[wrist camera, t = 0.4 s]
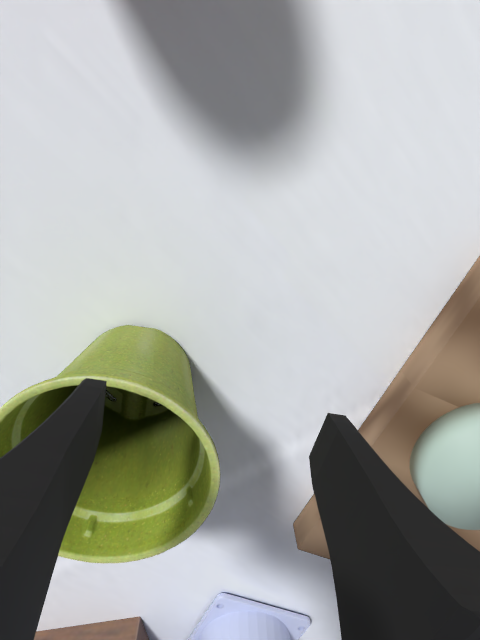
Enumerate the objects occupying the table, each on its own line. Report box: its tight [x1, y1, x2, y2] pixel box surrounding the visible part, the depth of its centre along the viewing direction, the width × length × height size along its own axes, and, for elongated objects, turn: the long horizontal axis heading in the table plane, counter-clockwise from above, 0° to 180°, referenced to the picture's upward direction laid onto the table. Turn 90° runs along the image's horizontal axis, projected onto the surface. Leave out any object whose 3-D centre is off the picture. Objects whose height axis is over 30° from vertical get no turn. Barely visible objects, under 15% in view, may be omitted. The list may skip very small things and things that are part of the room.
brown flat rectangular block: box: [293, 256, 480, 559], centre depth 26 cm, size 22×12×2 cm, turn 154°
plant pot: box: [0, 325, 220, 563], centre depth 21 cm, size 9×9×9 cm
